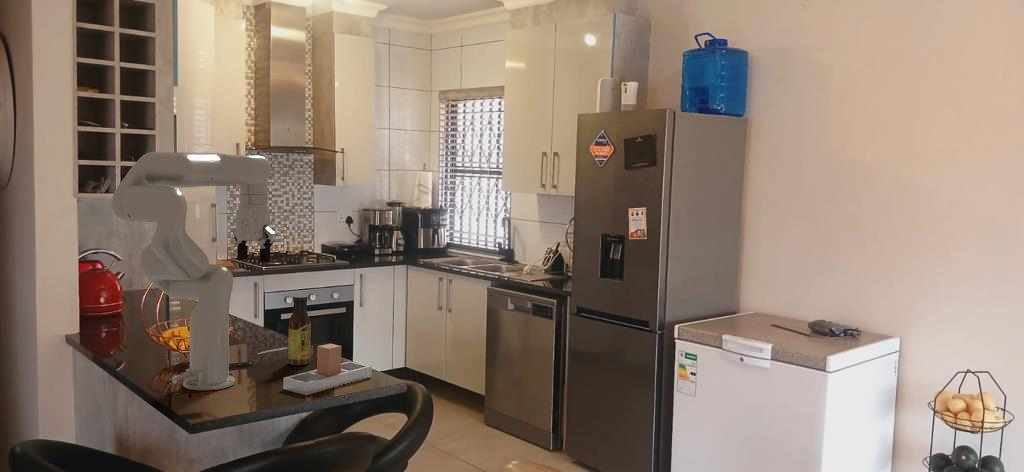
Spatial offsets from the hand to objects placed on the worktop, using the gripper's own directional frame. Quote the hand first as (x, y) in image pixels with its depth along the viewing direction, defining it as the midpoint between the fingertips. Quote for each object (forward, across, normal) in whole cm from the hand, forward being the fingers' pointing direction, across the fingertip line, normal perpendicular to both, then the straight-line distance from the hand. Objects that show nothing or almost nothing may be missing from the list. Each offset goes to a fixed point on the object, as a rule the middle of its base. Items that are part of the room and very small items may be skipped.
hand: (253, 260), depth 225 cm
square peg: (+30, +30, +1) cm, 43 cm away
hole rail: (+30, +30, +1) cm, 43 cm away
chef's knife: (+31, -11, +18) cm, 37 cm away
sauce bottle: (+31, +8, +10) cm, 33 cm away
